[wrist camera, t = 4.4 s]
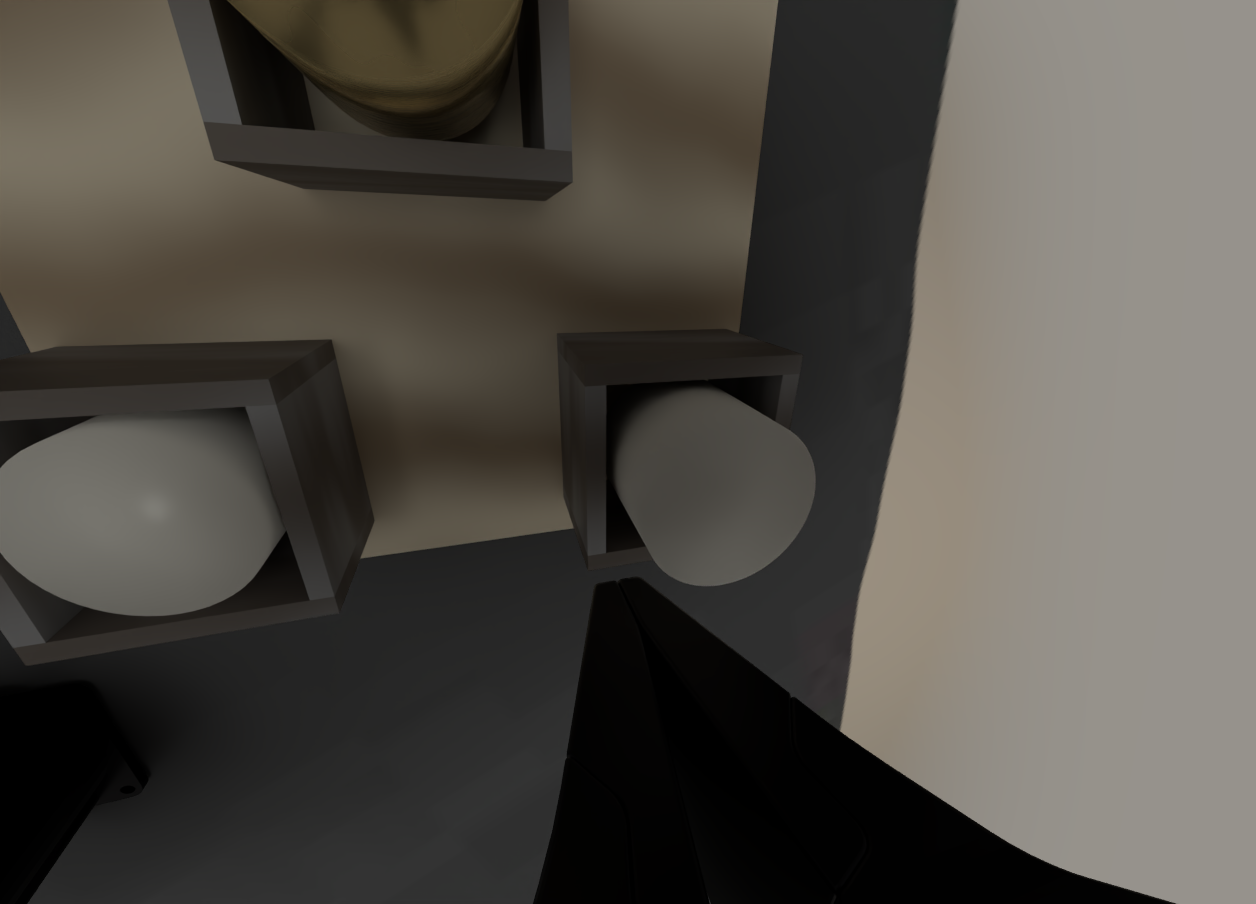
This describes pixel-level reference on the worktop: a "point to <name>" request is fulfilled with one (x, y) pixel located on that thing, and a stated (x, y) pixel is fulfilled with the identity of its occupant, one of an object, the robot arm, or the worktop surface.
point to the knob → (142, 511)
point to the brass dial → (398, 57)
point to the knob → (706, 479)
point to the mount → (374, 275)
